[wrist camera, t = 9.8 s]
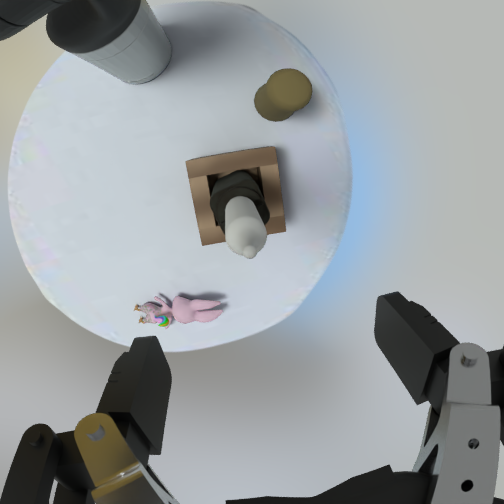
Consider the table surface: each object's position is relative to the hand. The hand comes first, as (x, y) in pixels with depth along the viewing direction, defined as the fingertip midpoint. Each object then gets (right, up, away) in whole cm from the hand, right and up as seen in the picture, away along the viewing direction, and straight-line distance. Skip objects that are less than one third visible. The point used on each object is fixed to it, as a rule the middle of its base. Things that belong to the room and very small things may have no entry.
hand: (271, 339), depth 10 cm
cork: (+3, +24, +28) cm, 37 cm away
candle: (-3, +12, +31) cm, 33 cm away
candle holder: (-3, +12, +32) cm, 34 cm away
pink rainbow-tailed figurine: (-13, -6, +38) cm, 40 cm away
